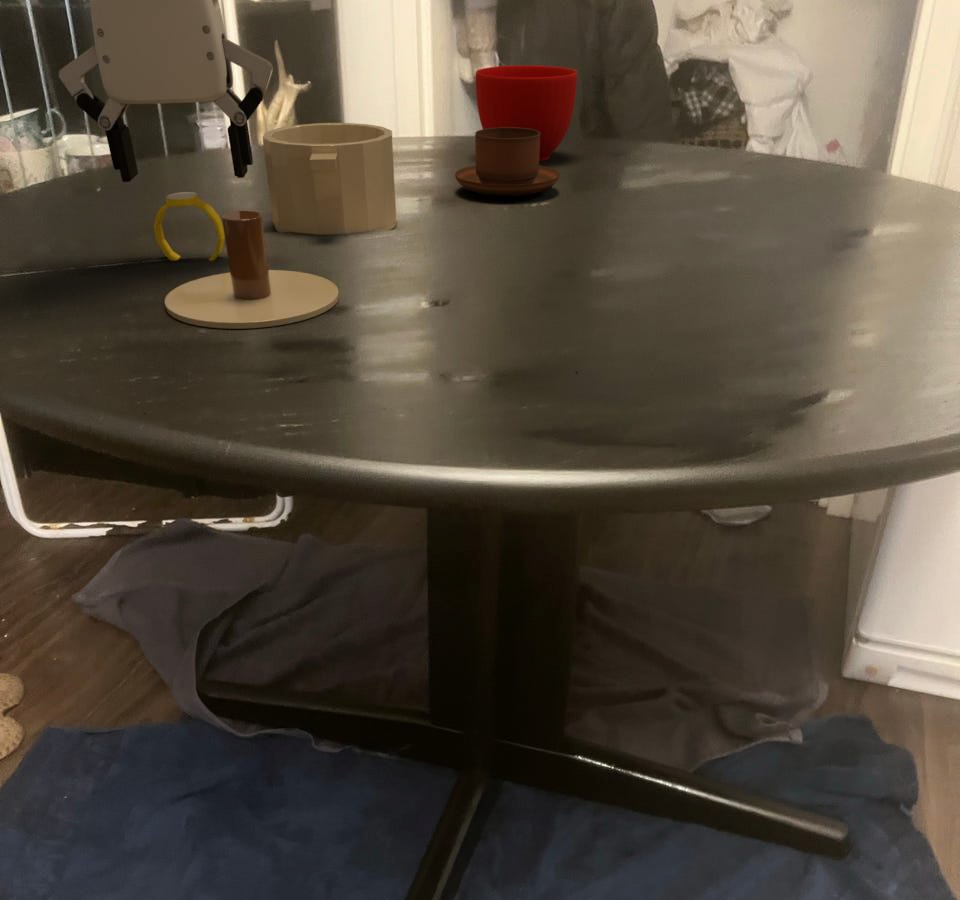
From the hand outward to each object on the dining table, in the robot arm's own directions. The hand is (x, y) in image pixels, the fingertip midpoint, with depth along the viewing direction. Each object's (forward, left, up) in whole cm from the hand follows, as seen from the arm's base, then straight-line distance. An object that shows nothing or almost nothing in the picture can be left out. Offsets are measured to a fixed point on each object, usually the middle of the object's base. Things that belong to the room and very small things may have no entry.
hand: (186, 176), depth 85 cm
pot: (+12, +14, -7) cm, 19 cm away
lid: (+7, -13, -7) cm, 16 cm away
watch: (0, 0, -8) cm, 8 cm away
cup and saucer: (+31, +28, -8) cm, 42 cm away
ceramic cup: (+35, +50, -8) cm, 61 cm away
